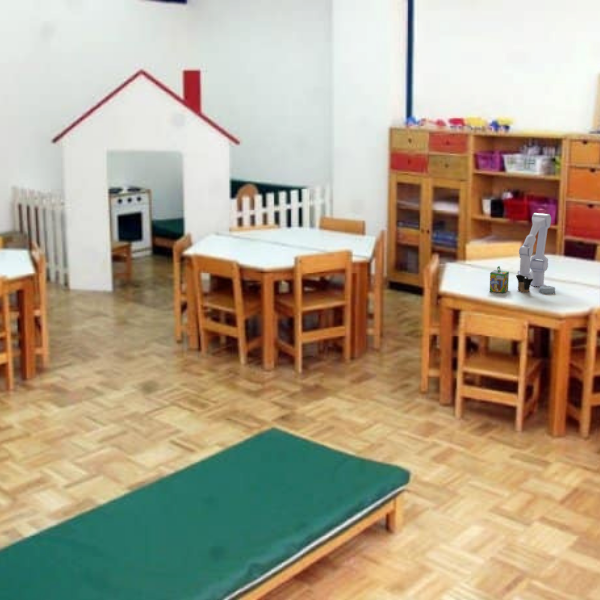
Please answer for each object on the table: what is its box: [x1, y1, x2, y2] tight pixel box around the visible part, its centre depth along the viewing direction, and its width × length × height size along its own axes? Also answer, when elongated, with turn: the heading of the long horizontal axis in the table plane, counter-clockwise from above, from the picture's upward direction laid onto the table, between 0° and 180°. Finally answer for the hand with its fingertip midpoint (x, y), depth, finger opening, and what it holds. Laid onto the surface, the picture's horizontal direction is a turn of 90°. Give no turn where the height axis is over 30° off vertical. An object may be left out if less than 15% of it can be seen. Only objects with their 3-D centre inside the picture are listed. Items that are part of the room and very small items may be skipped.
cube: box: [517, 281, 531, 293], centre depth 522 cm, size 5×5×5 cm
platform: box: [538, 285, 556, 295], centre depth 519 cm, size 9×9×3 cm
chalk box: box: [489, 265, 510, 294], centre depth 522 cm, size 9×9×15 cm
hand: (523, 288), depth 523 cm, fingers open, 7 cm apart
